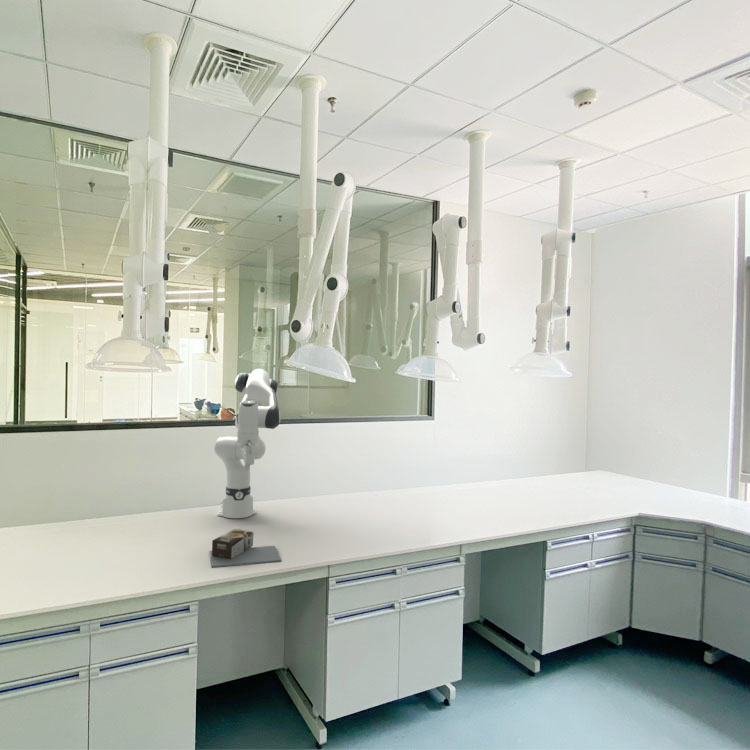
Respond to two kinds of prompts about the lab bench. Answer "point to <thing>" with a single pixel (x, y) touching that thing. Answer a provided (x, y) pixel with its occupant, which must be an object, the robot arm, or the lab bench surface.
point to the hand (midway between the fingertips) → (247, 470)
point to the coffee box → (232, 543)
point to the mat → (248, 557)
